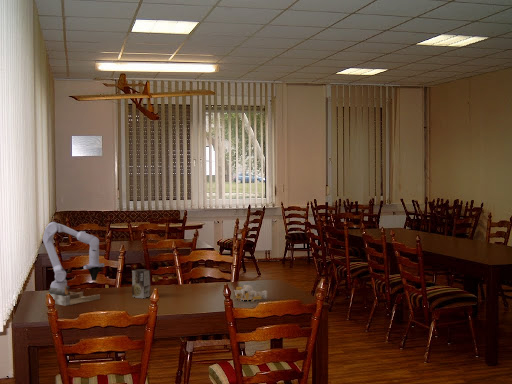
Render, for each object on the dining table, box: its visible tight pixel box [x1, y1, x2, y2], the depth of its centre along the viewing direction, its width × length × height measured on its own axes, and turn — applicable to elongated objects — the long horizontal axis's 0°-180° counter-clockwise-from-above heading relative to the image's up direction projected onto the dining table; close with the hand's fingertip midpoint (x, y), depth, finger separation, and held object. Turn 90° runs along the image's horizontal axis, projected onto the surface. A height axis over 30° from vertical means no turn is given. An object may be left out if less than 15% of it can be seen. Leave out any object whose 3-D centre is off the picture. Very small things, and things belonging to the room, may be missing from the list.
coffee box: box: [131, 268, 151, 299], centre depth 403 cm, size 9×6×16 cm
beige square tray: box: [67, 291, 81, 300], centre depth 385 cm, size 9×9×4 cm
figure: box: [233, 284, 268, 302], centre depth 397 cm, size 17×18×9 cm
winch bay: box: [46, 285, 101, 307], centre depth 388 cm, size 16×25×11 cm, turn 146°
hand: (94, 280), depth 406 cm, fingers closed
